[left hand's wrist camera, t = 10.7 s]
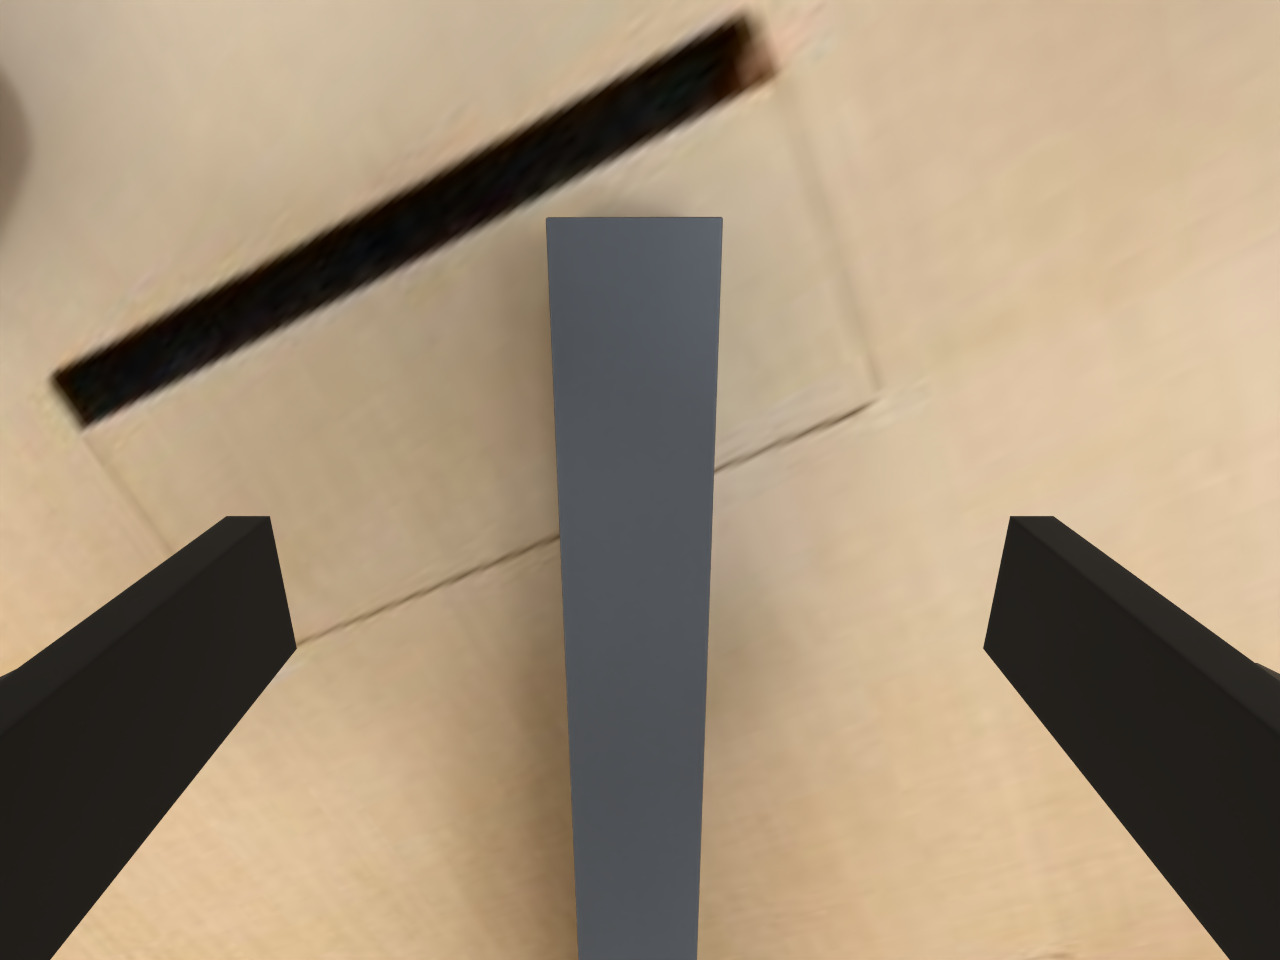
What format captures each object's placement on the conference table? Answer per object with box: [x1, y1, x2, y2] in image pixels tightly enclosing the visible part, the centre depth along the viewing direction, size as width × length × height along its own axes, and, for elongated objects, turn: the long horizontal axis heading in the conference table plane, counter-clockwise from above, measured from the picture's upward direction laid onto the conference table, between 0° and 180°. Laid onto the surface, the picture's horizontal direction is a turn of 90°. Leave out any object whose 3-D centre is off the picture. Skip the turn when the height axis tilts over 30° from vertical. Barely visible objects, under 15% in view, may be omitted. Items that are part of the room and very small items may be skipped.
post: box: [546, 217, 723, 960], centre depth 35 cm, size 66×5×8 cm, turn 0°
